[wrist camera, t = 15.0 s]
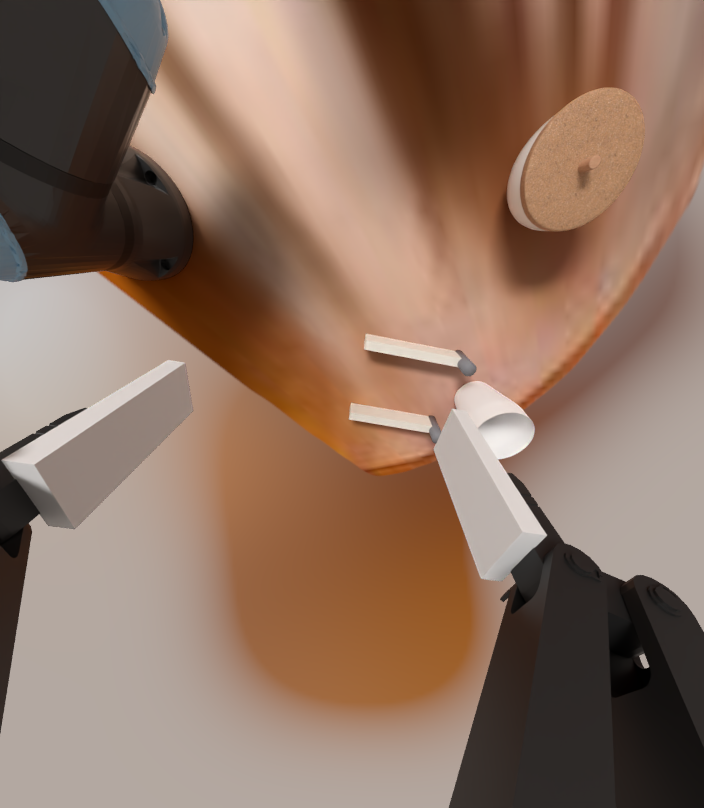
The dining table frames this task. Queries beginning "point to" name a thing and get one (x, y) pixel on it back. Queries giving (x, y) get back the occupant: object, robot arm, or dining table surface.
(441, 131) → the dining table surface
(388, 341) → the pair of white bars
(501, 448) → the cup
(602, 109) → the lidded jar
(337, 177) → the dining table surface
